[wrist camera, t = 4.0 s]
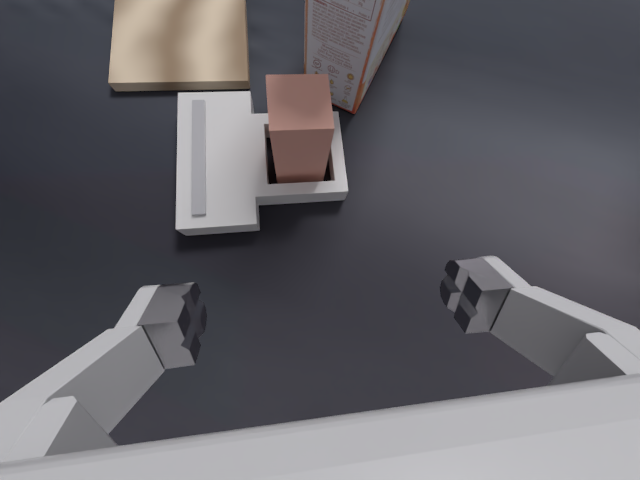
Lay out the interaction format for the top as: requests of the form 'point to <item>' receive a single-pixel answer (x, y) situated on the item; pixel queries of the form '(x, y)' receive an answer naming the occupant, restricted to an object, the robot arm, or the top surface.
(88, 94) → the top surface
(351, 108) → the cracker box
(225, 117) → the dispenser
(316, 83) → the block
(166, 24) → the board
